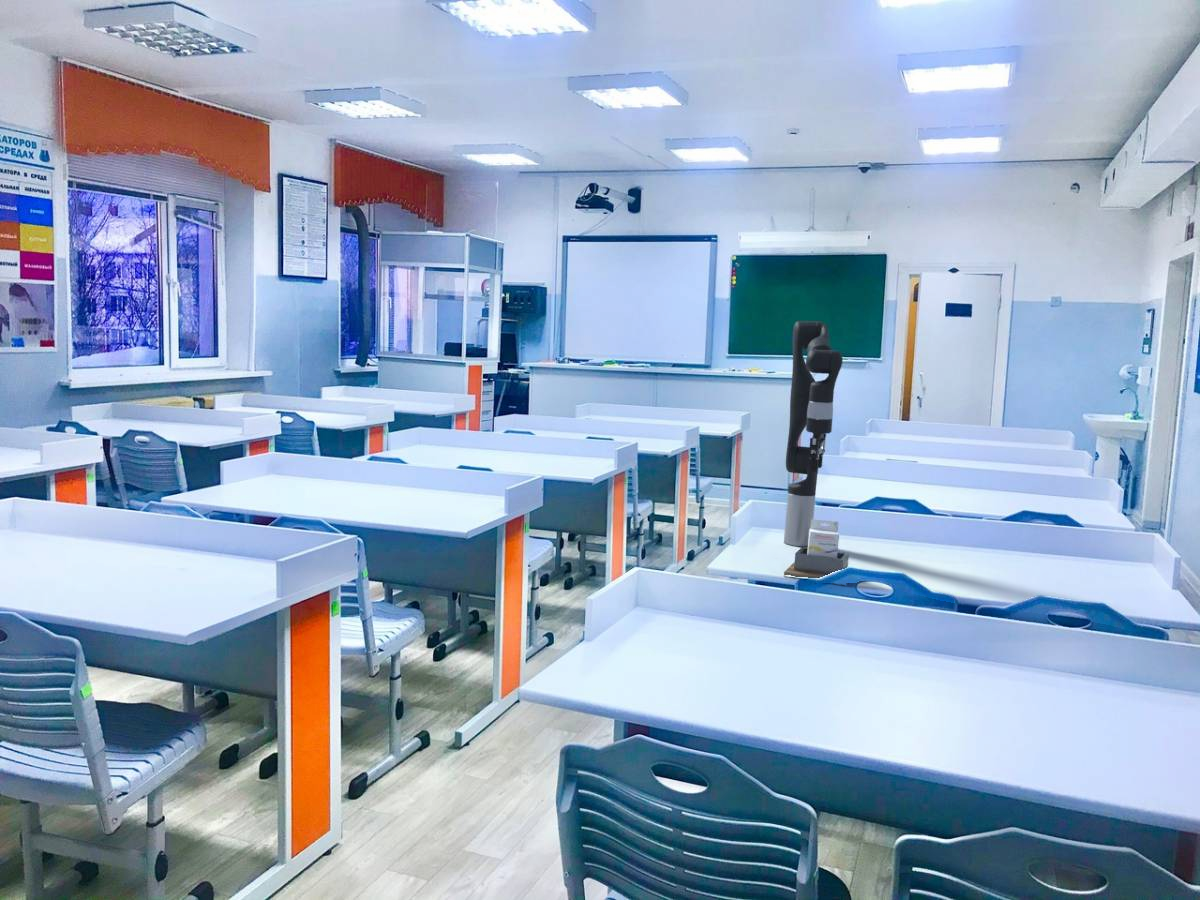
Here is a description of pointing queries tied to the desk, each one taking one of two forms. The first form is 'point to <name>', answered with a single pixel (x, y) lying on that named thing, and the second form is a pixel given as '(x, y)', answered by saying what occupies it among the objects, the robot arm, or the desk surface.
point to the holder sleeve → (819, 562)
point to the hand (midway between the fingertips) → (815, 469)
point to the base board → (801, 573)
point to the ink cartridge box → (823, 538)
